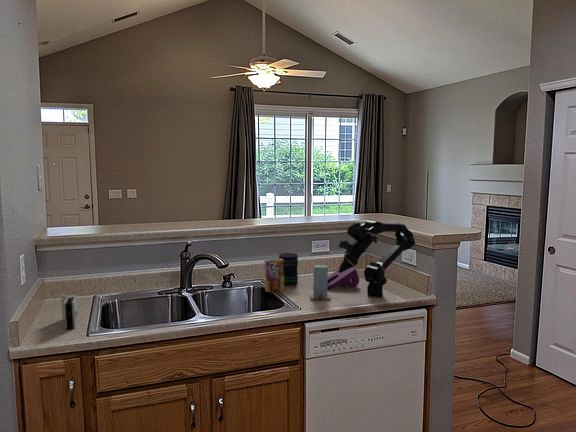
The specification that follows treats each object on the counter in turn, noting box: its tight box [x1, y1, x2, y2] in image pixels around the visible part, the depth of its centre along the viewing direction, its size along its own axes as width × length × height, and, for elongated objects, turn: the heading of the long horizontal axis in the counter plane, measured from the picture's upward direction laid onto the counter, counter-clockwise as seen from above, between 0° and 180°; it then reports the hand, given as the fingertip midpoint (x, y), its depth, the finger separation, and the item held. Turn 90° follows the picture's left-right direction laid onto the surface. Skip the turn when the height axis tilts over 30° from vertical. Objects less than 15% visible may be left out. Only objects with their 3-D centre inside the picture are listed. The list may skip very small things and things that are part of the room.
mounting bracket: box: [327, 267, 360, 291], centre depth 221 cm, size 10×8×18 cm
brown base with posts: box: [309, 290, 332, 302], centre depth 202 cm, size 9×6×4 cm
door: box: [312, 265, 329, 297], centre depth 201 cm, size 6×3×14 cm, turn 92°
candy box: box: [264, 258, 285, 293], centre depth 213 cm, size 9×4×15 cm, turn 104°
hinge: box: [60, 294, 79, 331], centre depth 169 cm, size 14×5×10 cm, turn 31°
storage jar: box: [278, 252, 299, 287], centre depth 226 cm, size 10×10×15 cm
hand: (339, 270), depth 202 cm, fingers open, 9 cm apart
